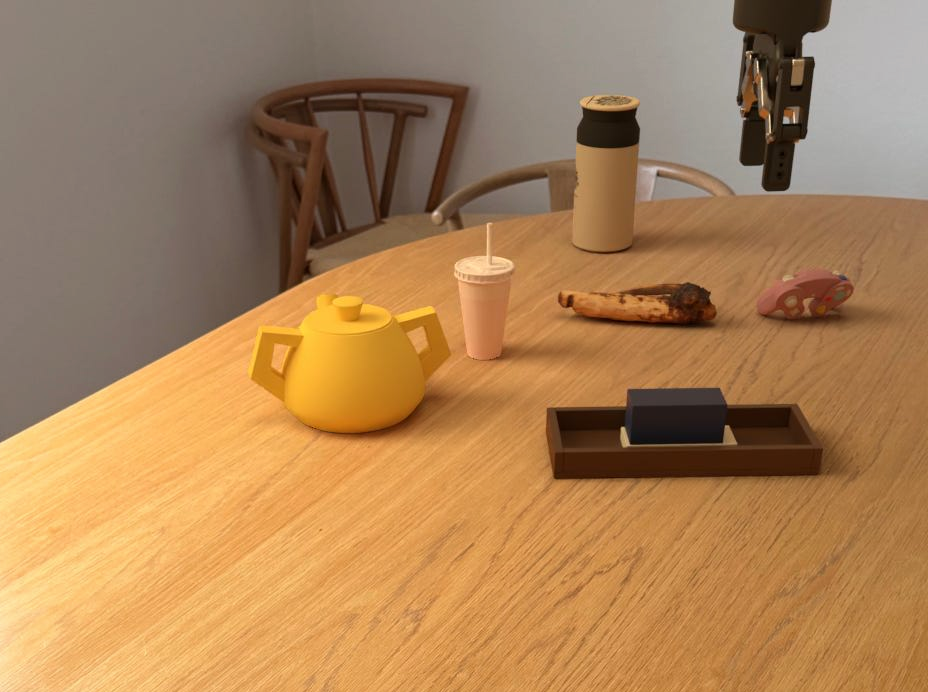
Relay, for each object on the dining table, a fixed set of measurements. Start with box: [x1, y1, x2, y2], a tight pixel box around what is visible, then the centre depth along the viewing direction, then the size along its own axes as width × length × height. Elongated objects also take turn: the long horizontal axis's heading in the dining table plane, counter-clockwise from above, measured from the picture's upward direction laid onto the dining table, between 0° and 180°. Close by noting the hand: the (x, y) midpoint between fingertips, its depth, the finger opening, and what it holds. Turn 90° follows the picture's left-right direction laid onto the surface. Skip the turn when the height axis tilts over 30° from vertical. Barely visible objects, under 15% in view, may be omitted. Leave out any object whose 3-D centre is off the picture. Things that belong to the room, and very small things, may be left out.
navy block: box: [620, 387, 737, 447], centre depth 114 cm, size 10×4×5 cm, turn 91°
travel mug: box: [571, 94, 641, 254], centre depth 162 cm, size 8×8×18 cm
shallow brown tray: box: [545, 403, 824, 479], centre depth 115 cm, size 24×10×3 cm, turn 91°
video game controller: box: [756, 268, 855, 321], centre depth 143 cm, size 10×5×7 cm, turn 104°
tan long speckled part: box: [557, 281, 718, 325], centre depth 144 cm, size 9×5×18 cm
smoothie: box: [453, 222, 516, 361], centre depth 132 cm, size 6×6×14 cm
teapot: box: [247, 293, 453, 434], centre depth 123 cm, size 20×18×11 cm
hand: (763, 177), depth 107 cm, fingers open, 8 cm apart
